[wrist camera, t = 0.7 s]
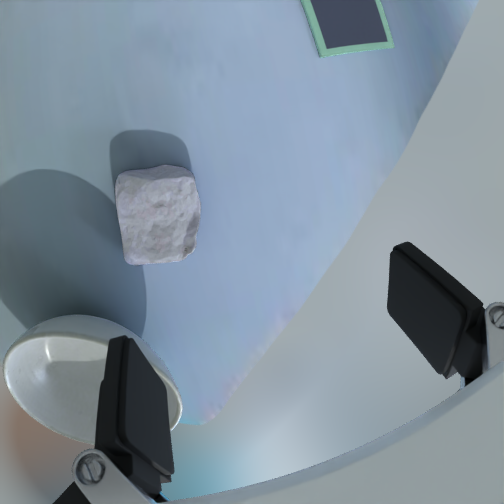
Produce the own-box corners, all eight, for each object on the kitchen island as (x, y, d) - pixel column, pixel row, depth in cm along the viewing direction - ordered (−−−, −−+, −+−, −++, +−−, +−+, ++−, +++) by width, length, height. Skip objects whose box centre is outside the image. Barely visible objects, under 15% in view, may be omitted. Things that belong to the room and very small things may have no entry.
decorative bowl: (6, 340, 40) (-15, 391, 30) (74, 240, 36) (44, 293, 26) (120, 409, 53) (119, 459, 43) (211, 342, 49) (222, 402, 39)
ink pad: (286, -35, 25) (288, -37, 24) (363, -37, 26) (365, -38, 25) (319, 58, 32) (322, 57, 32) (392, 47, 33) (394, 47, 32)
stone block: (192, 159, 37) (111, 169, 33) (202, 168, 33) (111, 180, 29) (195, 243, 43) (124, 256, 39) (205, 260, 39) (127, 276, 35)
